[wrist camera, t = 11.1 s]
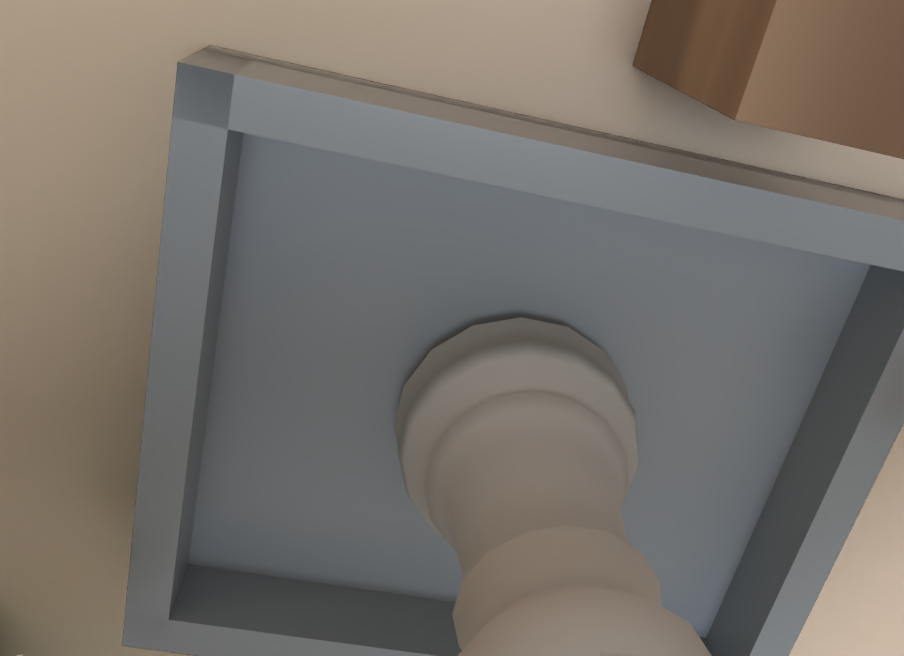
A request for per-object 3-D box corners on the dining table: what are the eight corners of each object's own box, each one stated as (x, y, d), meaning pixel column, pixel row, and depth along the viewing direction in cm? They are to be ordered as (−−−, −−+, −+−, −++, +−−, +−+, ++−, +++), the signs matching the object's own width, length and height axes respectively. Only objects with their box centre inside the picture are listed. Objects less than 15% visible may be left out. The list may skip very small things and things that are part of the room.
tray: (152, 569, 18) (121, 646, 16) (209, 45, 14) (177, 62, 12) (718, 650, 20) (752, 727, 18) (919, 203, 16) (993, 240, 14)
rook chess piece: (520, 259, 15) (631, 527, 8) (671, 416, 17) (880, 766, 9) (345, 414, 16) (299, 778, 9) (500, 549, 18) (569, 960, 10)
